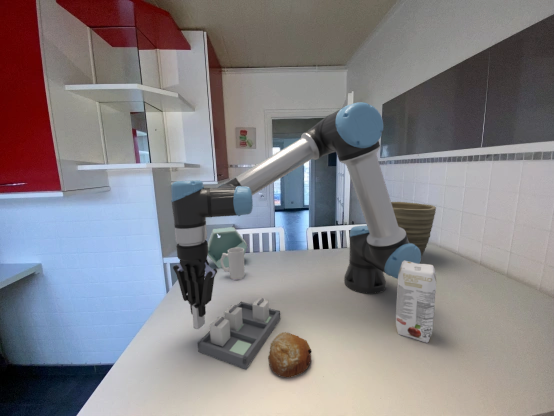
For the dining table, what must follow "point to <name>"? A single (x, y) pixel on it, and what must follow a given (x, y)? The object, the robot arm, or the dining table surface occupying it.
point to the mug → (235, 263)
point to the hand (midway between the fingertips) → (199, 325)
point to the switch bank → (242, 338)
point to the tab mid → (234, 317)
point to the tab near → (220, 331)
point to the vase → (415, 221)
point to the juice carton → (415, 300)
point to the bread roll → (289, 355)
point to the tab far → (260, 310)
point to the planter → (224, 244)
